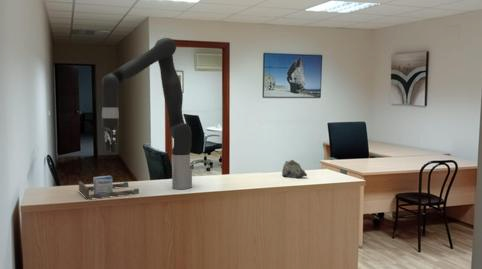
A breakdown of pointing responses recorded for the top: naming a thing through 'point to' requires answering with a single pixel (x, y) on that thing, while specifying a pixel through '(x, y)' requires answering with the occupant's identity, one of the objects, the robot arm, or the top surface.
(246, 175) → the top surface
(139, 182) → the top surface
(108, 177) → the medicine box
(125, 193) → the bay
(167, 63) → the robot arm
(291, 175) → the mineral rock
